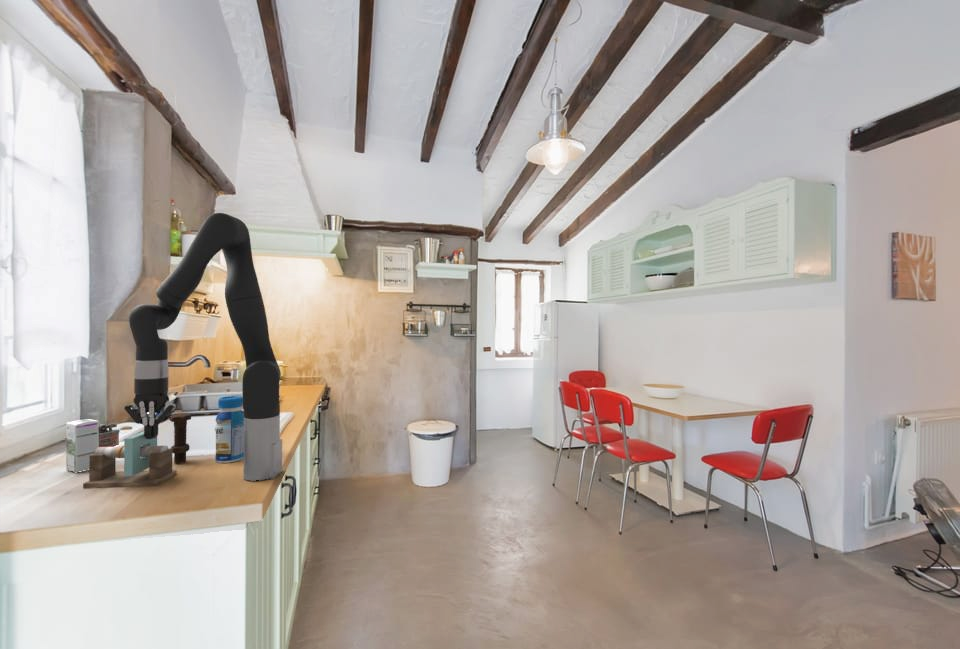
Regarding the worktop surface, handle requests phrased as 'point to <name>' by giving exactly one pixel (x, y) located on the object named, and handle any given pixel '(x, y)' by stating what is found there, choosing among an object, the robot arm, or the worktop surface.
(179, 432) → the bolt
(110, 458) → the pipe stand
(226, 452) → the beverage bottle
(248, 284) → the robot arm
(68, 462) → the syrup box
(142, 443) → the collar
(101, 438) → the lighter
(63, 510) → the worktop surface
